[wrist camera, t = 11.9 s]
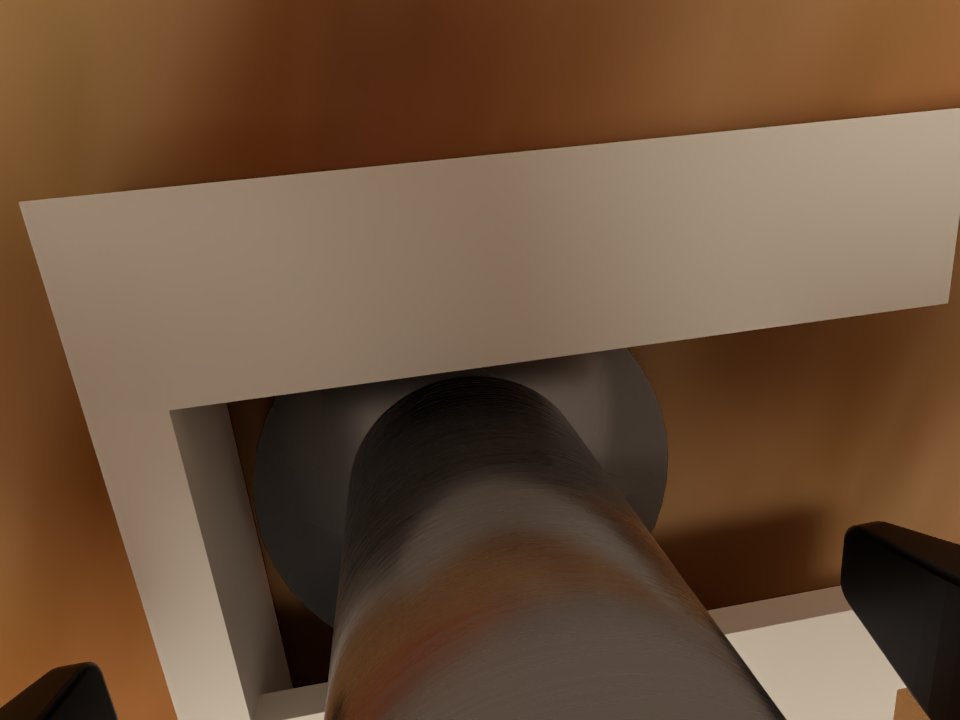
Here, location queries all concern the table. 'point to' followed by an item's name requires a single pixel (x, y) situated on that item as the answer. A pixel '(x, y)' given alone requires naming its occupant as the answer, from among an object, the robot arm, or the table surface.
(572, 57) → the table surface
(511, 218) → the keyhole dock
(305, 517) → the dark grey rounded piece
